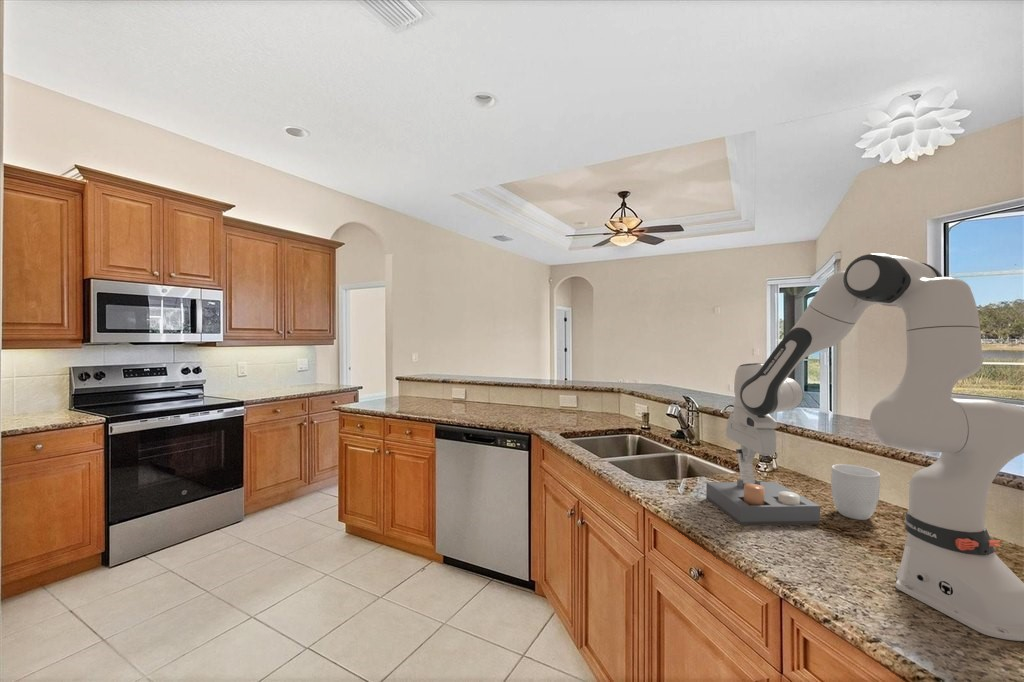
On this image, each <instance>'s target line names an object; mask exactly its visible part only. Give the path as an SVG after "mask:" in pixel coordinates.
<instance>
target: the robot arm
mask: <svg viewBox="0 0 1024 682" xmlns="http://www.w3.org/2000/svg"><path fill="white" fill-rule="evenodd" d="M972 291H973V290H972V289H971V287H970V285H969V284H968V283H967V282H966V281H964V280H962V279H959V278H957V277H956V278H955V277H950V276H943V275H942V273H941V272H940V271H939V270H938V269H937V268H935V267H933V266H932V265H930V264H928V263H925V262H919V261H917V260H914V259H911V258H909V257H905V256H901V255H893V254H887V253H882V252H880V253H879V252H876V253H868V254H864V255H861V256H859V257H857V258H855V259H854V260H852V261H851V262H850V263H849V265H848V266H847V267H846V268H845V270H838V271H837V272H835V273H833V274H832V275H831V276H830V277H829V278H828V279H827V280H826V281H825V282H824V283H823V284H822V285H821V287H820V288H819V290H818V291H817V292H816V293H815V295H814V296H813V297H812V299H811V301H810V302H809V304H808V306H807V307H806V308H805V310H804V312H803V313H802V314H801V316H800V317H799V319H798V320H797V321H796V323H795V325H794V326H793V327H792V328H791V329H790V330H789V332H787V333H786V335H785V336H784V337H783V338H782V340H781V341H780V342H779V343H778V345H776V347H775V349H774V350H773V352H771V354H770V355H769V357H768V358H767V359H766V360H765V362H764V363H762V362H755V363H743V364H741V365H739V366H737V368H736V370H735V375H734V381H733V382H734V385H733V393H734V402H733V409H732V411H731V412H730V414H729V417H728V418H727V422H726V427H725V435H726V438H727V439H728V440H730V441H732V442H735V443H736V444H737V445H740V449H741V450H742V454H743V460H744V461H746V462H748V463H752V464H754V458H755V455H757V454H758V455H761V456H764V457H768V456H770V457H771V456H774V454H775V453H776V449H777V432H776V430H775V429H777V428H778V421H777V420H776V419H775V418H773V416H771V415H770V414H773V413H781V412H785V411H791V410H793V409H796V408H798V407H799V406H800V405H801V404H802V402H803V400H804V399H803V398H804V390H803V387H802V386H801V384H800V383H799V382H798V381H797V380H796V379H793V378H792V377H789V376H790V375H791V374H792V372H793V371H794V370H795V368H796V367H797V366H798V365H799V364H800V363H801V362H802V361H803V360H804V359H806V358H808V356H810V355H813V354H815V353H817V352H820V351H823V350H825V349H828V348H830V347H831V348H832V347H834V346H836V345H838V344H840V342H842V340H844V339H845V338H846V336H847V335H849V334H850V332H851V331H852V330H853V328H854V326H855V325H856V324H857V322H858V320H859V319H860V318H861V316H862V314H863V313H864V312H865V311H866V310H867V309H868V308H869V307H871V306H873V305H877V304H878V305H882V306H886V307H894V308H901V310H902V311H903V313H904V317H905V332H906V333H905V334H906V366H905V370H904V373H903V376H902V379H901V380H900V383H899V384H898V385H897V387H896V388H894V390H893V391H892V392H891V393H889V394H888V396H886V397H884V398H883V399H880V400H879V401H878V402H877V403H876V404H875V405H874V406H873V408H872V409H871V412H870V416H869V424H870V428H871V430H872V432H873V434H874V435H875V437H876V438H877V440H879V442H881V443H882V444H884V445H887V446H889V447H894V448H899V449H903V450H907V451H908V450H909V451H913V452H916V451H917V452H925V453H927V452H929V453H941V454H940V456H939V457H938V458H937V459H936V461H934V462H933V463H932V464H931V465H929V466H927V467H924V468H921V469H919V470H917V471H916V472H914V473H913V474H912V476H911V478H910V479H909V489H908V490H909V491H908V492H909V493H908V495H909V497H908V510H907V511H906V512H905V518H904V524H905V525H904V529H905V530H906V539H905V542H904V543H905V544H904V548H903V552H902V557H901V562H900V564H899V567H898V569H897V572H896V573H895V576H896V582H895V588H896V589H897V590H899V591H901V592H903V593H904V594H907V595H908V596H911V597H912V598H914V599H915V600H918V601H919V602H922V603H924V604H926V605H927V606H929V607H931V608H933V609H935V610H937V611H939V612H940V613H942V614H944V615H946V616H948V617H950V618H951V619H954V621H955V620H956V621H958V622H959V623H961V624H963V625H965V626H966V627H969V628H970V629H973V630H975V631H976V632H978V633H980V634H982V635H985V636H988V637H993V638H997V639H1002V640H1008V641H1017V642H1024V582H1023V581H1022V580H1021V579H1020V578H1019V577H1018V576H1017V575H1016V574H1015V573H1014V572H1013V571H1012V570H1011V568H1009V567H1008V565H1007V564H1005V562H1004V561H1003V560H1001V558H999V556H997V554H996V553H995V551H996V550H995V547H1001V544H999V543H1001V542H1002V540H999V539H991V537H990V534H989V532H988V529H987V528H986V527H985V525H986V524H985V522H986V510H987V509H986V508H987V500H988V495H989V494H988V493H989V490H990V488H991V486H992V483H993V481H994V479H995V478H996V477H997V475H998V473H1000V471H1002V469H1003V468H1004V467H1005V466H1006V465H1007V464H1008V463H1009V462H1011V461H1012V460H1014V459H1015V458H1017V457H1018V456H1020V455H1023V454H1024V408H1023V407H1021V406H1020V405H1016V404H1012V403H1011V404H1010V403H1007V402H1006V403H1005V402H1002V401H997V400H990V399H975V398H955V397H953V398H952V392H953V389H954V387H955V386H956V384H957V383H958V382H959V381H962V380H964V379H967V378H969V377H972V376H973V375H975V374H976V373H978V372H979V370H980V369H981V368H982V366H983V364H984V363H983V362H984V358H983V348H982V346H983V345H982V335H981V325H980V315H979V312H978V307H977V303H976V300H975V296H974V294H973V292H972Z"/></svg>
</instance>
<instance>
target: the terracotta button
mask: <svg viewBox="0 0 1024 682" xmlns="http://www.w3.org/2000/svg"><path fill="white" fill-rule="evenodd" d="M764 494H765V488H764V487H763V486H760V485H757V484H745V485H744V502H745V503H747V504H748V505H764Z"/></svg>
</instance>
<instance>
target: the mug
mask: <svg viewBox="0 0 1024 682" xmlns="http://www.w3.org/2000/svg"><path fill="white" fill-rule="evenodd" d="M880 488H881V473H880V472H879V471H877V470H875V469H872V468H870V467H865V466H861V465H855V464H845V463H841V464H840V463H837V464H833V465H831V473H830V489H831V490H830V491H831V497H832V500H833V501H832V502H833V504H834V506H835V508H836V510H837V511H838V513H839V514H840V515H842V516H844V517H846V518H848V519H853V520H858V521H867V520H868V519H870V518H871V517H872V516H873V515H874V513H875V511H876V509H877V507H878V503H879V499H880V490H881V489H880Z"/></svg>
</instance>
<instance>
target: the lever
mask: <svg viewBox="0 0 1024 682" xmlns="http://www.w3.org/2000/svg"><path fill="white" fill-rule="evenodd" d="M735 452H736V455H737V460H738V467H739V475H740V479H741V480H742V481H744V482H743V483H755V479H756V478H755V472H754V467H753V465H754V463H748V462H746V461H744V460H743V454H742V450H741V448H740V449H739V448H737V449H735ZM744 485H745V484H743V486H744Z"/></svg>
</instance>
